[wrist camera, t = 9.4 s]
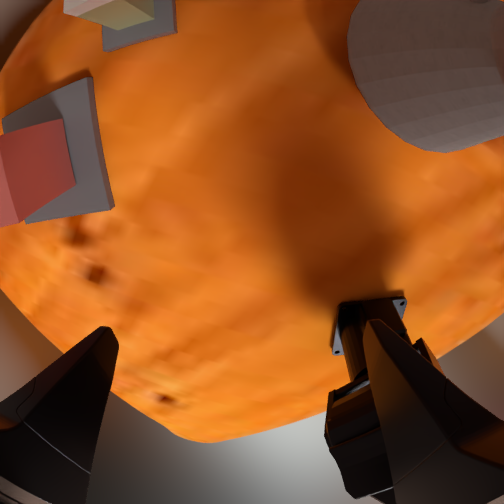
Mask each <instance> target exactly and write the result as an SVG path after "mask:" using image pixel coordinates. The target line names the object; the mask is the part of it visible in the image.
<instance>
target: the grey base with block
mask: <svg viewBox="0 0 504 504" xmlns="http://www.w3.org/2000/svg"><path fill="white" fill-rule="evenodd" d="M63 13H65V14H69V15H72V16H76V17H79V18H83V19H86V20H89V21H92V22H95V23H98V24H101V25H102V37H103V51H105V52H111V51H114V50H117V49H120V48H123V47H126V46H129V45H132V44H136V43H139V42H143V41H146V40H150V39H154V38H158V37H162V36H166V35H170V34H175V33H177V22H176V6H175V0H64V11H63Z"/></svg>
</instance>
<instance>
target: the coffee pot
mask: <svg viewBox="0 0 504 504" xmlns="http://www.w3.org/2000/svg"><path fill="white" fill-rule="evenodd" d="M347 46H348V59H349V63H350V66H351V69H352V72H353V75H354V79H355V82H356V85H357V87H358V88H359V90H360V92H361V94H362V95H363V97H364V99H365V101H366V103H367V104H368V106H369V108H370V109H371V110H372V111H373V112H374V113H375V115H376V116H377V117H378V118H379V119H380V120H381V122H382V123H383V124H384V125H385V126H386V127H387V128H388V129H389V130H391V131H392V132H393V133H395V134H396V135H397V136H399V137H400V138H401V139H402V140H404V141H405V142H407V143H409V144H412V145H414V146H416V147H418V148H421V149H423V150H426V151H434V152H442V153H447V152H452V151H457V150H462V149H465V148H468V147H471V146H474V145H477V144H480V143H483V142H486V141H488V140H491V139H494V138H497V137H500V136H503V135H504V2H503V1H500V0H360V1H359V3H358V5H357V6H356V8H355V9H354V11H353V13H352V14H351V19H350V24H349V28H348V33H347Z"/></svg>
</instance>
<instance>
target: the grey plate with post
mask: <svg viewBox="0 0 504 504" xmlns="http://www.w3.org/2000/svg"><path fill="white" fill-rule="evenodd" d="M62 118H63V124H64V130H65V136H66V141H67V147H68V152H69V157H70V161H71V166H72V170H73V174H74V179H75V183H76V185H75V186H74V187H72V188H70V189H69V190H67V191H66V192H64V193H62V194H61V195H59V196H58V197H56V198H55V199H53V200H52V201H50V202H48V203H47V204H45V205H44V206H42V207H41V208H40V209H38V210H37V211H35V212H34V213H32V214H31V215H29V216H28V217H27V218H25V219H24V220H25V223H26V224H29V223H35V222H40V221H46V220H51V219H57V218H63V217H69V216H75V215H81V214H88V213H94V212H101V211H108V210H111V209H112V208H113V207H115V204H114V200H113V196H112V192H111V188H110V183H109V179H108V174H107V169H106V164H105V159H104V154H103V149H102V143H101V138H100V132H99V125H98V119H97V111H96V104H95V96H94V87H93V77H86V78H83V79H81V80H78V81H76V82H73V83H71V84H69V85H66V86H64V87H62V88H60V89H57V90H55V91H53V92H51V93H49V94H47V95H45V96H43V97H41V98H39V99H37V100H35V101H33V102H31V103H29V104H27V105H25V106H23V107H22V108H20V109H18V110H16V111H14V112H13V113H11V114H9V115H8V116H6V117H4V118H3V119H2V125H3V132H4V134H7V133H10V132H13V131H16V130H19V129H23V128H26V127H30V126H33V125H37V124H41V123H45V122H49V121H53V120H58V119H62Z"/></svg>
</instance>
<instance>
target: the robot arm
mask: <svg viewBox="0 0 504 504" xmlns="http://www.w3.org/2000/svg"><path fill="white" fill-rule="evenodd" d="M402 301H403V302H402ZM406 305H407V300H406V298H405V297H404V296H400V297H391V298H382V299H373V300H363V301H352V302H343V303H341V304H339V306H338V311H337V318H336V325H335V332H334V338H333V345H332V354H333V355H344V356H345V360H346V364H347V368H348V372H349V377H350V381H351V382H350V383H348V384H346V385H345V386H343V387H341V388H339V389H337V390H333V391H331V392H329V395H328V404H327V413H326V421H325V433H324V437H325V439H326V442H327V445H328V447H329V451H330V453H331V455H332V456H333V457H334V459H335V460H336V463H337V465H338V467H339V469H340V471H341V475H342V478H343V482H344V486H345V489H346V491H347V492H348V493H349V494H350V495H351V496H352V497H353V498H355V499H360V498H363V497H366V496H371V497H373V498H374V499H376V500H378V501H379V502H381V503H383V504H504V421H503V420H501V419H499V418H498V417H496V416H495V415H493V414H492V413H491V412H489V411H488V410H487V409H485V408H484V407H483V406H481V405H480V404H478V403H477V402H476V401H474V400H473V399H472V398H470V397H469V396H468V395H467V394H465V393H464V392H463V391H462V390H460V389H459V388H458V387H457V386H456V385H455V384H454V383H452V382H451V381H450V380H449V379H448V378H447V379H446V376H445V375H444V373H443V371H442V369H441V367H440V365H439V363H438V361H437V359H436V358H435V356H434V355H433V353H432V352H431V350H430V349H429V347H428V346H427V344H426V343H425V341H424V340H423V339H422V337H421V338H420V339H418V340H417V341H416V343H414V344H413V345H412V342H411V340H410V338H409V336H408V334H407V329H406V327H405V325H404V323H403V321H402V318H403V314H404V311H405V308H406ZM345 307H346V308H345ZM343 308H345V309H343ZM118 350H119V343H118V341H117V339H116V337H115V335H114V333H113V331H112V329H111V328H110V327H106V326H100V327H99V328H97V329H96V330H95V331H93V332H92V333H91V334H89V335H88V336H87V337H85V338H84V339H83V340H81V341H80V342H79V343H78V344H76V345H75V346H74V347H72V348H71V349H70V350H69V351H67V352H66V353H65V354H63V355H62V356H61V357H60V358H58V359H57V360H56V361H54V362H53V363H52V364H51V365H49V366H48V367H47V368H46V369H44V370H43V371H42V372H41V373H40V374H38V375H37V376H36V377H34V378H33V379H32V380H31V381H29V382H28V383H27V384H26V385H24V386H23V387H22V388H20V389H19V390H17V391H16V392H15V393H13V394H12V395H10V396H9V397H8V398H6V399H5V400H3V401H1V402H0V504H86V498H87V492H88V486H89V480H90V473H91V469H92V463H93V458H94V453H95V449H96V444H97V440H98V435H99V431H100V427H101V423H102V419H103V415H104V411H105V407H106V403H107V400H108V396H109V392H110V389H111V385H112V381H113V376H114V371H115V365H116V360H117V355H118ZM337 350H338V351H337Z"/></svg>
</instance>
